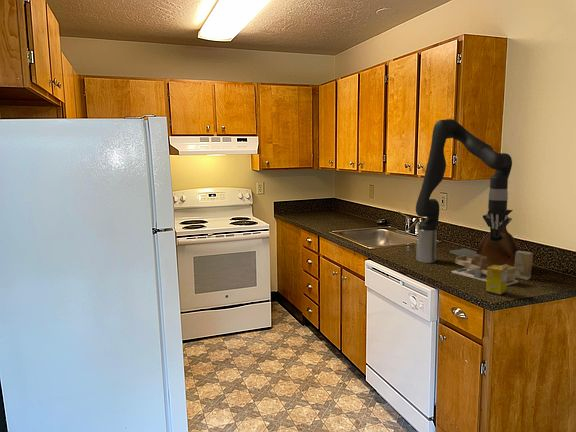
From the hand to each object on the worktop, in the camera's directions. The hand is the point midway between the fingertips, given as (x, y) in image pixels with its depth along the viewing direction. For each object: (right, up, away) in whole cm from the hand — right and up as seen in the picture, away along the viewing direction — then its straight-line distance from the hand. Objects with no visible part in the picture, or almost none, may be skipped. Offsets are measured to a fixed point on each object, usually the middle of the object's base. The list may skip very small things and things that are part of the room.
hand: (495, 237), depth 194 cm
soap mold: (+8, -14, +48) cm, 50 cm away
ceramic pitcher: (+12, -17, +23) cm, 31 cm away
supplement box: (-7, -22, -15) cm, 28 cm away
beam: (-2, -16, +7) cm, 17 cm away
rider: (-4, -14, +9) cm, 17 cm away
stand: (-2, -19, +7) cm, 20 cm away
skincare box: (+14, -19, +5) cm, 25 cm away
